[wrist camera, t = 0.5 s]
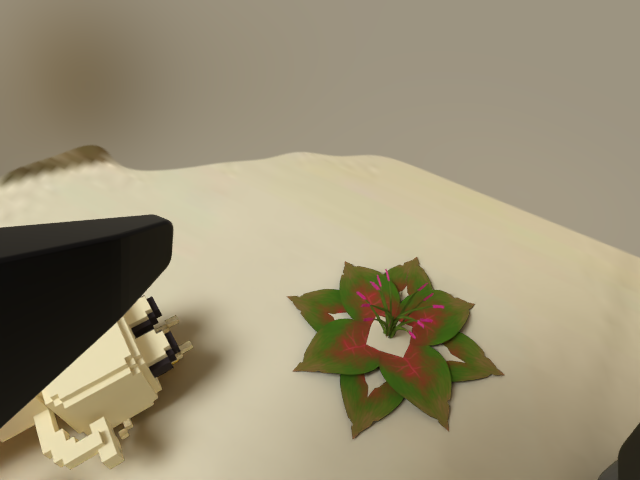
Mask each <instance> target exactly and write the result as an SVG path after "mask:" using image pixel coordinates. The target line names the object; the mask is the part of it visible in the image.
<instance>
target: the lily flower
mask: <svg viewBox="0 0 640 480" xmlns="http://www.w3.org/2000/svg"><path fill="white" fill-rule="evenodd" d="M418 264H419V262H418V259H417V257H416V258H414V259H413V261H412V260H411V261H409V262H406V263H404V265H403V266H401V265H398V266H396V267H393V268H391V269H390V270H388V271H387V270H386V269H385V270H386V273H385V274H384V275H383V274H381V273H380V272H378V271H376V270H373V269H369V268H365V267H361V266H357V267H356V266H355V267H353V266H352V264H349V263H347V262H345V267H344V270H343V273H344V275H342V276H341V280H340V290H335V289H323V290H318V291H313V292H309V293H306V294H304V295H303V296H301V297H298V296H287V297H288V298H289V299H290V300H291V301H293V303H294V305H295V306H296V308H297V309H299V310H301V315H302V316H303V317H304V318H305V320H306V321H307V322H308V323H309V324H310V325H311V326H312V328H313V329H314V330H315V331H317V333H316V335H315V336H314V338H313V339H312V341H311V343H310V345H309V346H308V348H307V350H306V352H305V354H304V360H303V362H302V363H301V362H300V363H299V364H298V366H297V367H296V368H295V369H294V370H293V371H310V372H316V371H320V372H322V373H338V374H341V375H340V386H341V392H342V397H343V401H344V405H345V408H346V412H347V415H348V418H349V419H351V422H352V423H353V426H352V427H351V429H352V438H353V439H354V438H355V437H356V436H357V435H358V434H359V432H362V431H363V430H365V429H366V428H368V427H369V426H371V425H372V422H373V421H379V420H380V419H382V418H383V417H385V416H386V415H387V414H389V413H390V412H391V411H393V410H394V409H395V408H396V407H397V406H398V405H399V404H400V403H401V401H402V400H403V398H406V399H407V400H409V401H410V402H411V403H412V404H414V405H415V406H416V407H418V408H419V409H420V410H422V411H423V412H425V413H426V414H427V415H429V416H430V417H434V418H436V419H438V422H439V423H440V424H441V425H442V426H444V427H445V428H446V429H447V430H448V431H449V427H448V421H447V420H448V416H449V407H450V406H449V404H448V400H450V398H451V385H452V384H451V382H458V381H467V380H475V379H480V378H485V377H487V376H488V375H490V374H493V375H504V374H503V373H502V372H501V371H500V370H498V369H497V368H496V366H495V365H494V364H493V363H492V362H491V360H490V359H489V358H486V357H485V356H484V352H483V351H482V349H481V348H480V347H479V346H478V345H477V344H476V343H475V342H474V341H473V340H471V339H470V338H468V337H467V336H466V335H464V334H463V333H461V332H459V331H460V330H461V328H462V327H463V325H464V324H465V322H466V320H467V318H468V316H469V313H470V312H469V309H471V308H472V307H473V306H474V305H475V304H472V303H467V302H466V301H464V300H461V299H459V298H453V296H452V295H450V294H448V293H446V292H443V291H441V290H432V286H431V283H430V280H429V278H428V276H427V275H426V273H425V272H424V270H423V268H421V267H420V266H418ZM406 286H407V293H408V294H409V296H407V297H406V298H405V299H404V300H403V301H402V302H401V303H400V297H399V293H398V292H400V291H403V290H404V288H405V287H406ZM401 294H402V293H401ZM345 312H347V313H348V314H349V315H350V316H351V318H352V319H338V320H334V318H333V317H332V316H331V315H329V314H328V313H331V314H336V313H345ZM379 316H383V317H386V322H384V321H383V320H381V319H380V317H379ZM375 317H377V319H375ZM353 319H354V320H353ZM374 320H377V321H379V323H380V324H381V326H382V328H383V331H384V332H383V333H384V334H386V337H387V336H389V335H390V337H391V338H392V337H393V336H394V335H395V333H396V331H397V330H405V331H407V332H409V334H410V335H411V339H410V345H409V347H408V349H407V351H406V353H405V355H404V357H403V358H402V357H399V356H395V355H392V354H389V353H385V352H382V351H379V350H377V349H375V348H373V347H370V346H368V345H366V342H367V338H368V335H369V331H370V327H371V324H372V323H373V321H374ZM398 321H400V322H401V323H400V324H399V325H397V326H396V324H397V322H398ZM383 324H384V325H383ZM404 324H407V325H409V326H412V327H413V328H412V333H411V332H410V331H408V330H406V329H405V328H403V327H401V326H402V325H404ZM384 326H385V327H384ZM385 328H386V329H385ZM388 338H389V337H388ZM440 343H442V344H444V345H445V346H446V347H447V348H448V349H449V351H450V353H451V354H453V355H454V356H456V357H458V358H459V359H461V360H462V361H464V362H466V363H463V362H456V361H447V362H446V361H445V360H444V358H443V357H442V356H441V354H440V353H439V352H437V351H436V350H435V349H433V348H432V347H430V346H431V345H437V344H440ZM378 366H379V367H380V371H381V373H382V375H383V377H384V378H385V380H386V382H385V383H384V384H383V385H381V386H380V387H378V388H375V389H374V390H373V391H372V392H371V394H370V395H369V396H368V385H367V383H366V382H365V375H364V373H367V372H370V371H372V370H374V369H376V368H377V367H378ZM367 396H368V398H367Z"/></svg>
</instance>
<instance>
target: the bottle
mask: <svg viewBox="0 0 640 480" xmlns="http://www.w3.org/2000/svg"><path fill="white" fill-rule="evenodd" d="M598 480H618V460H617V461H615V462H614V463H613V464H612V465H611V466H610V467H608V468H607V469H606V470H605V471H604V472H603V473H602V474H601V475H600V477H599V478H598Z"/></svg>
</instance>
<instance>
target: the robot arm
mask: <svg viewBox="0 0 640 480" xmlns="http://www.w3.org/2000/svg"><path fill="white" fill-rule="evenodd" d="M172 243H173V225H172V223H171V222H170V221H169V220H167V219H164V218H162V217H159V216H157V215H141V216H129V217H118V218H106V219H95V220H83V221H72V222H60V223H49V224H37V225H26V226H14V227H3V228H0V429H1V428H2V427H3V426H4V425H5V424H6V423H7V422H8V421H9V420H11V419H12V418H13V417H14V416H15V415H16V414H17V413H18V412H19V411H20V410H22V409H23V408H24V407H25V406H26V405H27V404H28V403H29V402H30V401H31V400H32V399H34V398H35V397H36V396H37V395H38V394H39V393H40V392H41V391H42V390H43V389H45V388H46V387H47V386H48V385H49V384H50V383H51V382H52V381H53V380H54V379H56V378H57V377H58V376H59V375H60V374H61V373H62V372H63V371H64V370H65V369H66V368H68V367H69V366H70V365H71V364H72V363H73V362H74V361H75V360H76V359H77V358H79V357H80V356H81V355H82V354H83V353H84V352H85V351H86V350H87V349H88V348H90V347H91V346H92V345H93V344H94V343H95V342H96V341H97V340H98V339H99V338H100V337H102V336H103V335H104V334H105V333H106V332H107V331H108V330H109V329H110V328H111V327H113V326H114V325H115V324H116V323H117V322H118V321H119V320H120V319H121V318H122V317H123V316H124V315H125V314H126V313H127V311H128V310H129V309H130V308H131V307H132V306H133V305H134V304H135V303H136V301H137V300H138V299H139V298H140V297H141V296H142V295H143V294H144V292H145V291H146V290H147V289H148V288H149V287H150V286H151V285H152V283H153V282H154V281H155V280H156V279H157V278H158V277H159V276H160V274H161V273H162V272H163V271H164V270H165V269H166V268H167V266H168V265H169V263H170V260H171V256H172ZM618 480H640V423H639V424H638V426H637V427H636V428H635V429H634V431H633V432H632V433H631V435H630V436H629V437H628V438H627V440H626V441H625V442H624V443H623V445H622V447H621V449H620V451H619V455H618Z"/></svg>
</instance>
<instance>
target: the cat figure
mask: <svg viewBox="0 0 640 480" xmlns="http://www.w3.org/2000/svg"><path fill="white" fill-rule="evenodd" d="M160 316H162V314H161V312H160V310H159V309H158V307H157V305H156V303H155V301H154V299H153V297H150V298H148V299H146V297H145V295H143V296H141V297H140V298H139V299H138V300H137V301H136V303H135V304H134V305H133V306H132V307H131V308H130V309H129V310H128V311H127V313H126V314H125V315H124V316H123V317H122V318H121V319H120V320H119V321H118V322H117V323H116V324H115V325H114V326H113V327H111V328H110V329H109V330H108V331H107V332H106V333H105V334H104V335H103V336H102V337H100V338H99V339H98V340H97V341H96V342H95V343H94V344H93V345H92V346H91V347H90V348H88V349H87V350H86V351H85V352H84V353H83V354H82V355H81V356H80V357H79V358H77V359H76V360H75V361H74V362H73V363H72V364H71V365H70V366H69V367H68V368H66V369H65V370H64V371H63V372H62V373H61V374H60V375H59V376H58V377H57V378H56V379H54V380H53V381H52V382H51V383H50V384H49V385H48V386H47V387H46V388H45V389H43V390H42V391H41V392H40V393H39V394H38V395H37V396H36V397H35V398H34V399H32V400H31V401H30V402H29V403H28V404H27V405H26V406H25V407H24V408H23V409H22V410H20V411H19V412H18V413H17V414H16V415H15V416H14V417H13V418H12V419H11V420H9V421H8V422H7V423H6V424H5V425H4V426H3V427H2V428H1V429H0V441H1V442H4V441H6V440H8V439H10V438H12V437H13V436H15V435H17V434H19V433H21V432H23V431H24V430H26V429H28V428H30V427H32V426H34V425H36V429H37V433H38V437H39V441H40V445H41V449H42V453H43V455H45V456H46V457H48V458H49V459H51V458H52V457H53V460H54V463H55V464H57V465H58V466H60V467H63V466H66V467H67V468H69V469H70V470H71V469H73V468H74V467H76V466H78V465H79V464H81V463H83V462H84V461H86V460H88V459H89V458H91V457H93V456H95V455H96V454H98V453H99V455H100V458H101V461H102V463H103V464H104V465H106V466H107V467H108V468H109V469H112V468H113V467H115V466H117V465H118V464H120V463H121V462H123V461H125V460H124V458H123V455H122V452H121V451H122V448H121V445H120V442H119V440H118V438H117V437H116V436H115V433H114V430H113V428H114V427H116V426H118V425H119V424H121V423H123V424H124V427H125V428H124V429H122V430H121V431H119V434H120V437H121V438H122V439H125V438H127V437H128V436H129V434H128V431H127V430H129V429H130V428H132V427H134V426H133V424H132V421H131V419H130V418H131V417H133V416H135V415H137V414H138V413H140V412H142V411H143V410H145V409H147V408H149V407H150V406H152V405H154V400H156V399H158V394H157V392H159V391H160V390H162V388H161V385H160V382H159V380H158V378H157V377H158V376H160V375H162V374H163V373H165V372H167V371H169V370H171V369H172V368H173V366H172V364H174V363H176V362H178V360H179V359H181V358H182V357H183V355H182V354H183V353H185V352H187V351H188V350H190V349H192V348H193V346H192V344H191V342H190V341H187V342H186V343H184V344H182V345H180V346H178V345H177V343H176V341H175V339H174V337H173V335H172V333H171V332H170V330H169V327H171V326H173V325H175V324H177V323H179V320H178V318H177V317H176V315H175V316H173V317H171V318H169V319H167V320H165V322H166V324H165V325H163V326H161V327H159V328H157V329H154V327H153V325H155V324H157V323H158V321H157V319H156V318H158V317H160ZM54 413H56V414H57V415H58V416H59V417H60V418H61V419H63V420H64V421H65V422H66V423H67V424H68V425H70V426H71V427H72V428H73V429H74V430H75V431H77V432H78V433H79V434H81V433H82V432H84V433H85V434H87V435H88V436H87V437H85V438H83V439H82V440H80V441H78V440H77V439H76V438H75V437H72V438H70V436H69V433H67V432H66V431H65V430H64V429H63V428H62V429H61V430H59V428H58V424H57V421H56V417H55V414H54Z"/></svg>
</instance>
